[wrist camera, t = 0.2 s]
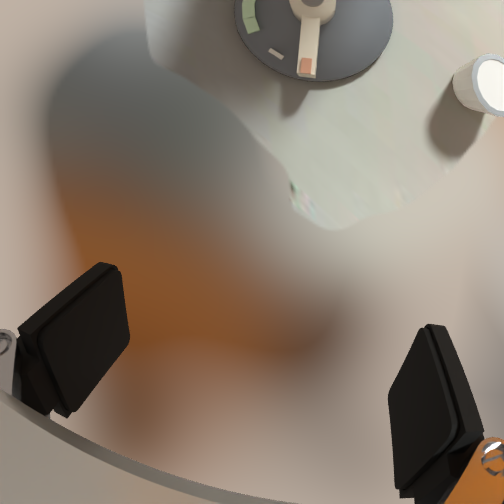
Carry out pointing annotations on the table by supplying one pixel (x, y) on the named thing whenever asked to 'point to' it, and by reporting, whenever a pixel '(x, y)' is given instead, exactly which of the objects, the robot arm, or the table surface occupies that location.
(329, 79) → the dial
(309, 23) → the lever
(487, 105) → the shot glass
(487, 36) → the table surface
